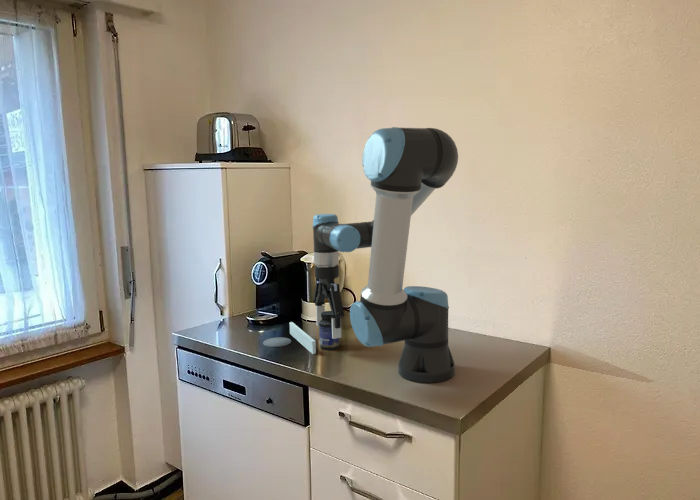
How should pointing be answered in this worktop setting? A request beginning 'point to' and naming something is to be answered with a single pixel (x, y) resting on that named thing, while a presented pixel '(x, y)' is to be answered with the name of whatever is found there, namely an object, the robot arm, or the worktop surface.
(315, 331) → the worktop surface
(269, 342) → the coaster
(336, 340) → the pill bottle
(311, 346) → the divider wall
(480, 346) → the worktop surface
